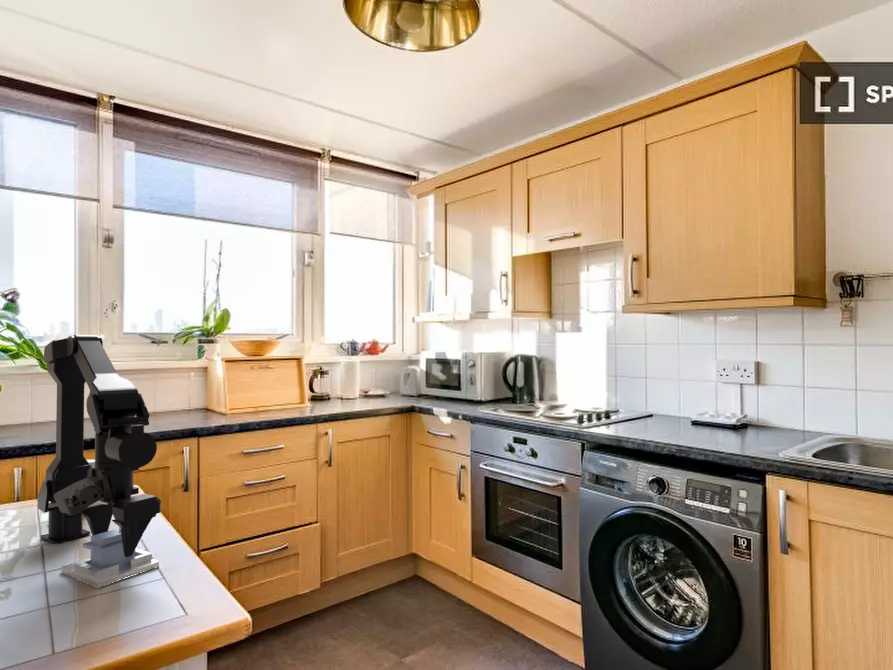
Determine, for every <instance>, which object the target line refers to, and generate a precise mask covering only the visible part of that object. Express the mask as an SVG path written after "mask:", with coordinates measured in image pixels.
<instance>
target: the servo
mask: <svg viewBox="0 0 893 670" xmlns="http://www.w3.org/2000/svg"><path fill="white" fill-rule="evenodd" d="M82 548H84V549H86V550H89V551H90V558H91V565H92V566H94V567H97V568H102V567H105V566H108V565H111V564H115V563H117V564H119V567H121V566H124V565H127V564H128V559H130V558H133V557H135V551H134V553H133V555H132V556H130V557H125V556H124V551H123V543H122V535H121V528H120V527H119V526H118V528H115V529H112V530H108V531H107V532H104V533H100V534H96V535H93V536H92V535H90V541H88V542H84V543H82Z"/></svg>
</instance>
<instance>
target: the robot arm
mask: <svg viewBox="0 0 893 670" xmlns="http://www.w3.org/2000/svg"><path fill="white" fill-rule="evenodd" d="M103 343H104V342H103V339H102V336H101V335H100V336H99V335H96V334H73V335H69V336H68V337H66V338H63V339H53V340H52V341H50V342H49V343H48V344H46V345H45V347H44V350H43V360H44V363H45V364H46V370H47V372H48V374H49V375H50V376H51V378H52V379H53V381H54V382H55V383H56V414H55V415H56V416H55V417H56V421H55V422H56V425H55V428H56V429H55V433H56V434H55V457H54V459H53V460H52V462H50V464H49V466H48V467H47V468H46V469H45V475H44V480H43V481H42V484H41V486H40V489H39V491H38V494H37V498H36V501H37V509H38V510H40V511H41V512H43V513H48V516H47V517H48V525H47V527H48V529H47V533H45V534H41V535H40V539H42V540H45V541H47V542H48V543H49V542H50V543H52V544H58V543H59V544H60V543H63V542H67V541H70V540H75V539H78V538H81V537H85V536H88V535H91V536H93V535H96V534H100V533H104V532H107V531H109V528H110V525H111V521H112V523H114V524H115V525H117V527H118V528H119V527H120V528H121V535H122V543H123V551H124V556H125V557H130V556H132V555H133V553H134V551H135V549H136V548H138V545H139V542H140V541H141V538H143V535H144V533H145V531H146V529H147V528H148V527H149V524H150V523H151V521H152V519H153V518H155V517H156V516H157V514H160V513H161V512H162V500H161V499H160V498H159V497H158V496H156V495H152V494H149V493H148V494H147V493H142V494H141V493H140V489H139V487H137V486H134V472H135V471H140V468H142V467H146V466H147V465H148V464H150V463H151V461H153V459H154V458H155V456H156V453H157V449H158V445H157V443H156V439H154V437H153V436H152V435H150V434H149V433H146V432H145V427H147V426H149V425H150V420H149V419H150V415H151V414H150V413H149V411H148V408H147V404H146V403H145V400H144V398H143V395H142V393H141V392H139V390H138V388H137V387H136V386H135V385H134V384H133V382H132V381H131V380H130V379H127V378H125V377H122V376H120V375H119V374H118V371H116V369H115V367H114V365H113V362H112V361H111V359H110V357H109V356H108V354H107V352H106V350H105V348H104V344H103ZM85 384H87V386H88V389H89V394H88V396H87V398H86V406H85ZM85 407H86V412H87V415H88V417H89V419H90V421H91V425H93V428H94V429H93V431H94V432H95V435H94V459H95V466H93V467H92V466H91V465H90V464H89V463H88V461H87V460H88V459H86V457H85V456H84V455H85V454H84V444H85V443H84V438H85V437H84V434H85V432H84V431H85V430H84V428H85V427H84V426H85ZM139 493H140V494H139ZM83 515H84V516H83ZM84 517H85V520H86V522H87V524H88V527H89V529H90V530H87V529H84V528H83V524H84V523H83V521H84V519H83V518H84ZM112 517H114V519H112Z"/></svg>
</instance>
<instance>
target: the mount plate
mask: <svg viewBox="0 0 893 670" xmlns="http://www.w3.org/2000/svg"><path fill="white" fill-rule="evenodd" d="M158 566H159V567H160V561H159V560H156V559H153V553H152V552H149V551H146V550H143V549H141V548H138V547H136V549H135V557H133V558H130V559H128V564H127V565H124V566H121V567H119V564H117V563H115V564H111V565H108V566H105V567H102V568H97V567H94V566H92V565H91V557H89V558H85V559H82V560H78V561H76V562H72V563H69V564H65V565H62V566H61V567H60V569H61V571H60V573H61V574H63V573H64V574H63V575H65V574H66V575H65V576H68V575H69V576H68V577H70V576H71V577H70V578H72V577H74V578H76V579H75V580H77V579H79V580H81V581H84V582H86V583H88V584H90V585H92V586H94V587H93V588H95V587H96V588H95V589H97V588H99V589H101V588H100V587H102V586H104V585H107V584H109V583H112V582H115V581H117V580H119V579H123V578H125V577H128V576H131V575H134V574H137V573H140V572H143V571H146V570H149V569H152V568H155V567H158ZM159 567H158V568H159ZM155 569H156V568H155ZM152 570H153V569H152ZM149 571H150V570H149ZM74 578H73V579H74ZM79 580H78V581H79ZM81 581H80V582H81ZM86 583H85V584H86ZM88 584H87V585H88ZM90 585H89V586H90ZM92 586H91V587H92ZM107 586H108V585H107ZM102 588H103V587H102Z"/></svg>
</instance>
